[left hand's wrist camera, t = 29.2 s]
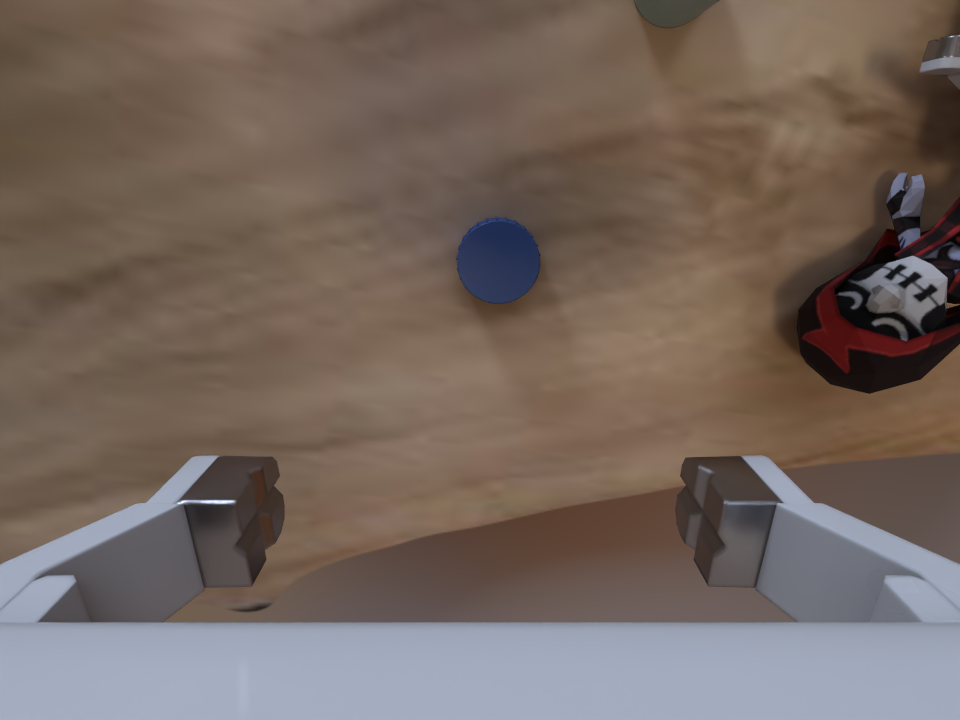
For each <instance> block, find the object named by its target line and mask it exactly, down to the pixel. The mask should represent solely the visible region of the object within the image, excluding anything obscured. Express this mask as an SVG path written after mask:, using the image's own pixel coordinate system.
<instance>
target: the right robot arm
mask: <svg viewBox="0 0 960 720" xmlns="http://www.w3.org/2000/svg"><path fill="white" fill-rule="evenodd" d="M919 73H920V74H936V75H947V78H948V79H949V80H950V81H951V82H952V83H953V84H954V85H955V86H956V87H957V88H958V89H959V90H960V35H952V36H946V37H942V38H941V39H940V40H931V41H929V42H928V44H927V47H926V51H925V54H924V57H923V60H922V65H921V68H920V71H919Z"/></svg>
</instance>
